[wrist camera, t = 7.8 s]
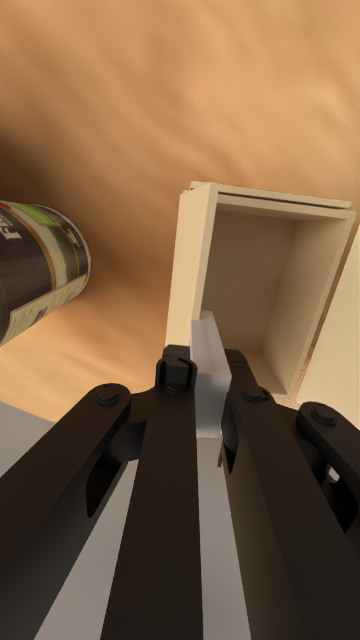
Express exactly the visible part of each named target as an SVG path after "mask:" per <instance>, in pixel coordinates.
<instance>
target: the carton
mask: <svg viewBox="0 0 360 640" xmlns="http://www.w3.org/2000/svg"><path fill="white" fill-rule="evenodd" d="M205 184H207V183H205V182H197V181H191V185H190V188H189V190H183V194H184V193H186V192H188V191H191V190H193V189H195V188H198V187H200V186H202V185H205ZM351 203H352V202H351V201H343V200H335V199H328V198H320V197H312V196H305V195H297V194H289V193H282V192H274V191H266V190H258V189H251V188H243V187H235V186H228V185H219V191H218V198H217V204H216V211H215V218H214V224H213V231H212V237H211V244H210V250H209V257H208V264H207V270H206V277H205V283H204V290H203V296H202V303H201V309H200V310H207V311H212V313H213V316H214V319H215V322H216V326H217V329H218V332H219V336H220V339H221V342H222V346H223V349H233V350H239V351H240V352H241V353H242V354H243V355H244V356H245V357H246V359H247V362H248V364H249V366H250V369H251V370H252V373H253V375H254V377H255V379H256V381H257V384H258V385H259V386H261V387H263V388H264V389H266V390H267V391H269V392H270V394H271V395H272V396H273V398H274V400H275V402H278V403H284V400H285V399H288V400H291V399H292V397H293V394H294V391H295V388H296V385H297V382H298V380H299V377H300V374H301V371H302V368H303V365H304V363H305V360H306V357H307V354H308V351H309V348H310V346H311V343H312V340H313V337H314V334H315V331H316V329H317V326H318V323H319V320H320V317H321V314H322V312H323V309H324V306H325V303H326V300H327V297H328V295H329V292H330V289H331V286H332V283H333V280H334V278H335V275H336V272H337V269H338V266H339V263H340V261H341V258H342V255H343V252H344V249H345V246H346V244H347V241H348V238H349V235H350V232H351V229H352V227H353V224H354V221H355V218H356V215H357V212H354V211H346V210H338V209H346V208H350V206H351Z"/></svg>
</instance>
